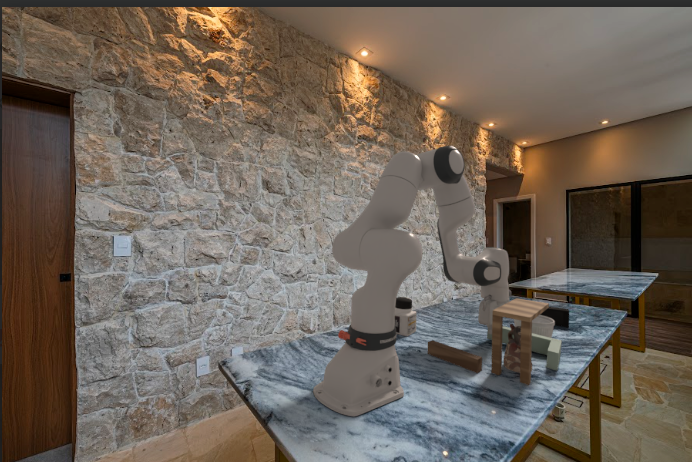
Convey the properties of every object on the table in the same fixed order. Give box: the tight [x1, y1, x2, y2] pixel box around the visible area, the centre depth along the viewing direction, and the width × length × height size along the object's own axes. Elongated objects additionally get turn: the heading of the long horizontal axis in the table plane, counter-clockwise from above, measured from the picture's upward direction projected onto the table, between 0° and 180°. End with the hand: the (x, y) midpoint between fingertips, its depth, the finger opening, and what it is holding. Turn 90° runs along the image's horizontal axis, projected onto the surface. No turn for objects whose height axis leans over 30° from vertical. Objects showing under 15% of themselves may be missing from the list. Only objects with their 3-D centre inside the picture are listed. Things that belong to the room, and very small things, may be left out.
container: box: [394, 296, 417, 337], centre depth 114 cm, size 8×8×13 cm
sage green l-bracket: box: [486, 325, 563, 371], centre depth 95 cm, size 13×21×5 cm, turn 51°
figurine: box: [502, 323, 533, 374], centre depth 85 cm, size 7×7×12 cm
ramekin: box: [513, 315, 555, 338], centre depth 112 cm, size 13×13×7 cm
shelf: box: [490, 297, 550, 386], centre depth 86 cm, size 22×9×17 cm, turn 135°
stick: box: [427, 340, 483, 374], centre depth 88 cm, size 3×16×4 cm, turn 40°
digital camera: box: [540, 306, 570, 328], centre depth 128 cm, size 10×5×7 cm, turn 58°
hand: (493, 332), depth 105 cm, fingers closed on sage green l-bracket, 3 cm apart
